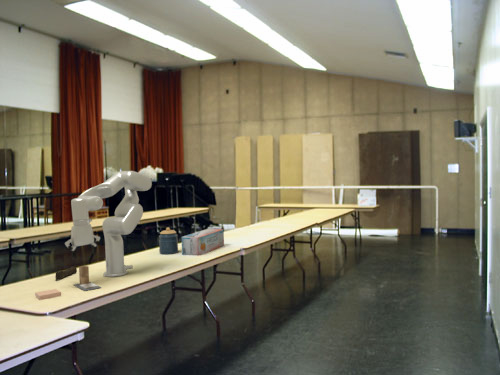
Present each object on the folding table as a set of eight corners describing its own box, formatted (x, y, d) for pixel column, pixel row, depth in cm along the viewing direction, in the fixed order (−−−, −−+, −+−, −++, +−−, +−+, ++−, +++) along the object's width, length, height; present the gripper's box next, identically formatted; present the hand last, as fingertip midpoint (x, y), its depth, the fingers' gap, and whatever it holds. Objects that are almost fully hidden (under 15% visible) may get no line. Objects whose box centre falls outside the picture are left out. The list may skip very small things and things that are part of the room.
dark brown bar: (70, 273, 249) (70, 265, 249) (77, 273, 249) (76, 265, 248) (51, 281, 230) (50, 272, 230) (58, 281, 230) (57, 272, 230)
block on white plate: (89, 282, 222) (88, 265, 222) (97, 286, 213) (97, 268, 213) (77, 284, 218) (76, 266, 218) (85, 289, 209) (84, 270, 209)
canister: (181, 251, 309) (180, 226, 309) (173, 254, 297) (172, 228, 296) (164, 251, 313) (163, 226, 312) (156, 254, 300) (155, 228, 300)
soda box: (208, 245, 333) (207, 228, 333) (224, 246, 328) (224, 228, 328) (181, 255, 295) (180, 236, 295) (199, 256, 290) (199, 236, 290)
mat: (89, 282, 224) (89, 281, 224) (101, 288, 212) (101, 287, 212) (73, 285, 219) (73, 284, 219) (84, 291, 207) (84, 290, 207)
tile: (55, 288, 206) (60, 291, 200) (56, 293, 206) (61, 296, 200) (35, 292, 201) (39, 295, 194) (35, 297, 201) (39, 300, 194)
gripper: (95, 219, 228) (98, 251, 230) (60, 224, 217) (64, 258, 219) (101, 220, 223) (104, 253, 224) (65, 226, 212) (69, 261, 213)
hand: (84, 256), depth 222 cm, fingers open, 9 cm apart
